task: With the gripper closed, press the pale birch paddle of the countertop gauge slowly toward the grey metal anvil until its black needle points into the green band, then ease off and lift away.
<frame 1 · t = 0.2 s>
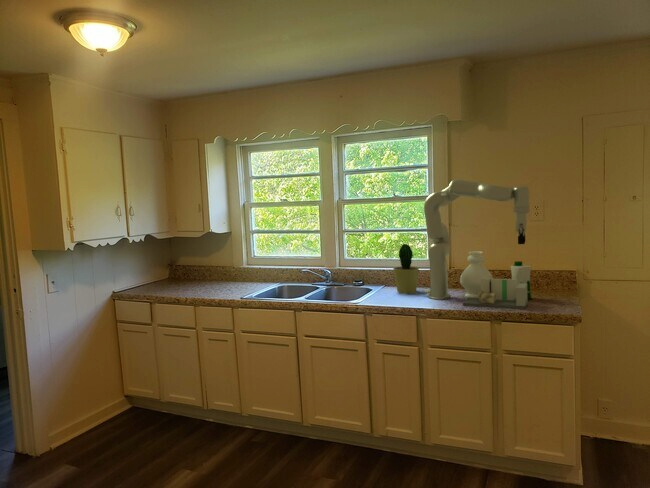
hand: (521, 243, 256), 31 cm above the worktop, tool pointing down, fingers open, 9 cm apart
gauge frame: (495, 304, 255), on the worktop
gauge slider: (487, 292, 256), point 6 cm above the worktop, slide at 0.0 cm
decorative vase: (476, 296, 278), on the worktop
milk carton: (521, 299, 265), on the worktop
potted cactus: (406, 292, 300), on the worktop
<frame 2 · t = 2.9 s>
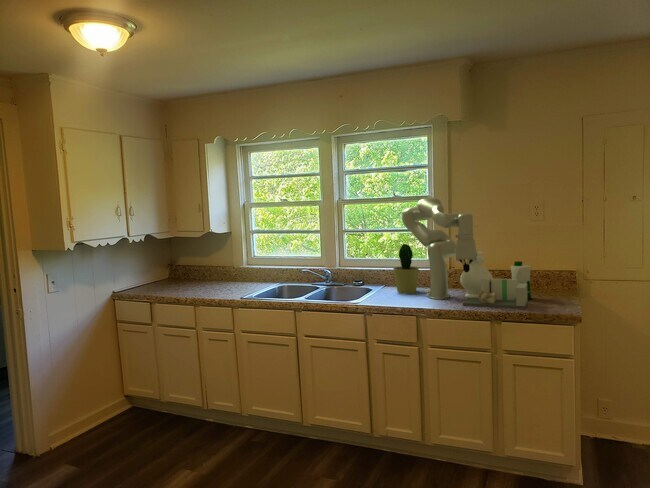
hand: (466, 271, 258), 17 cm above the worktop, tool pointing down, fingers closed
nothing on the worktop moved.
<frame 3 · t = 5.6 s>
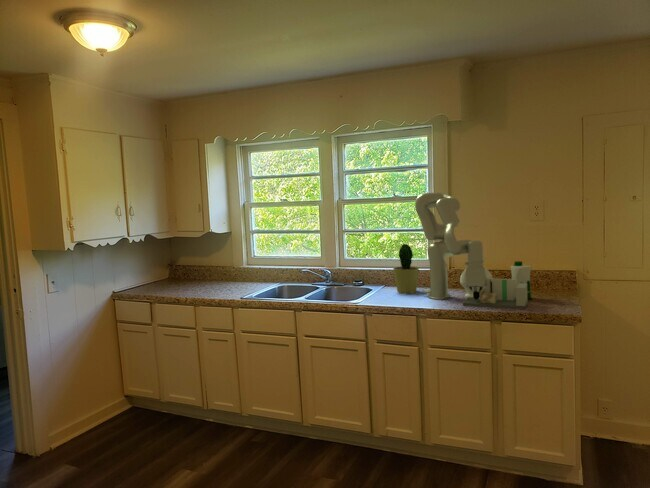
hand: (476, 299, 257), 3 cm above the worktop, tool pointing down, fingers closed
gauge slider: (488, 292, 256), point 6 cm above the worktop, slide at 0.6 cm, touching gripper
everything else where it was.
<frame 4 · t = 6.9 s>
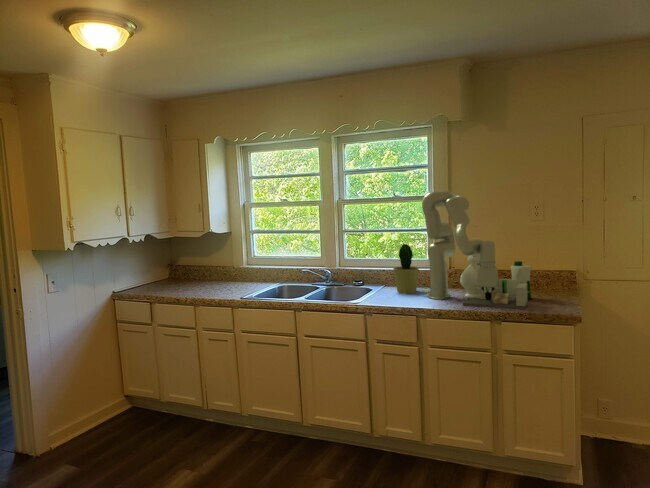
hand: (488, 299, 255), 3 cm above the worktop, tool pointing down, fingers closed
gauge slider: (501, 292, 253), point 6 cm above the worktop, slide at 6.6 cm, touching gripper
everything else where it was.
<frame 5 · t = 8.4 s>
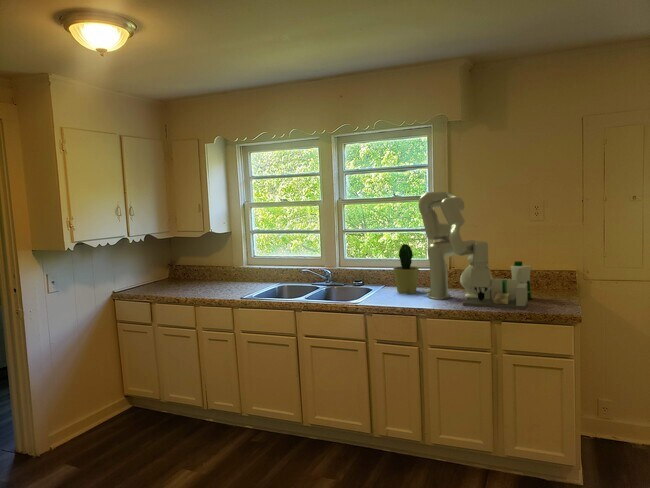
hand: (481, 299, 256), 2 cm above the worktop, tool pointing down, fingers closed
gauge slider: (501, 292, 253), point 6 cm above the worktop, slide at 6.8 cm
everything else where it was.
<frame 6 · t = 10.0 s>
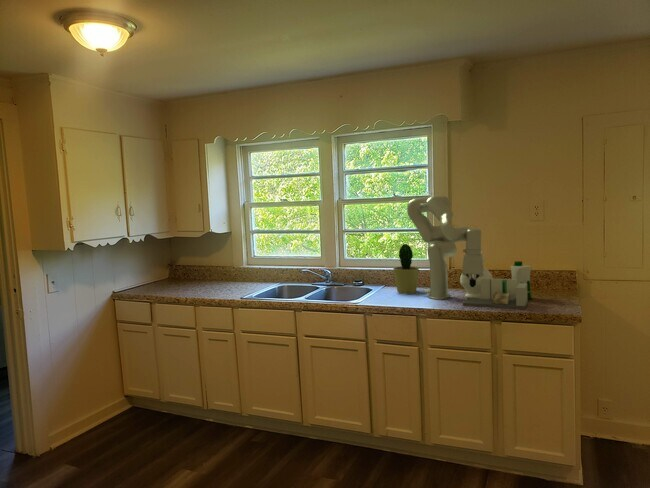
hand: (472, 286, 258), 9 cm above the worktop, tool pointing down, fingers closed
nothing on the worktop moved.
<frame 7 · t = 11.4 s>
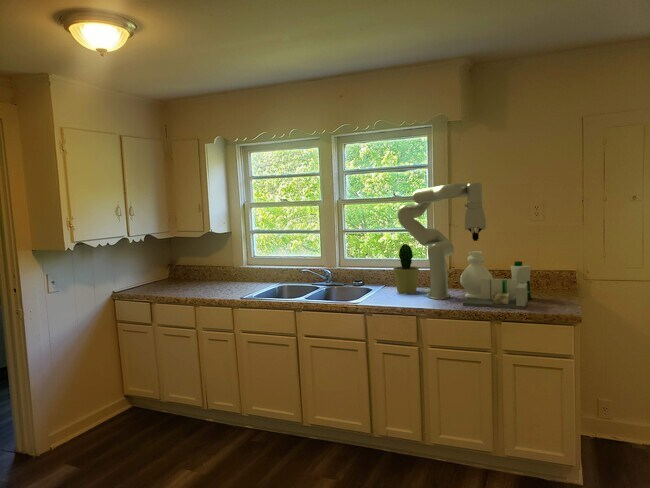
hand: (475, 240, 261), 33 cm above the worktop, tool pointing down, fingers closed
nothing on the worktop moved.
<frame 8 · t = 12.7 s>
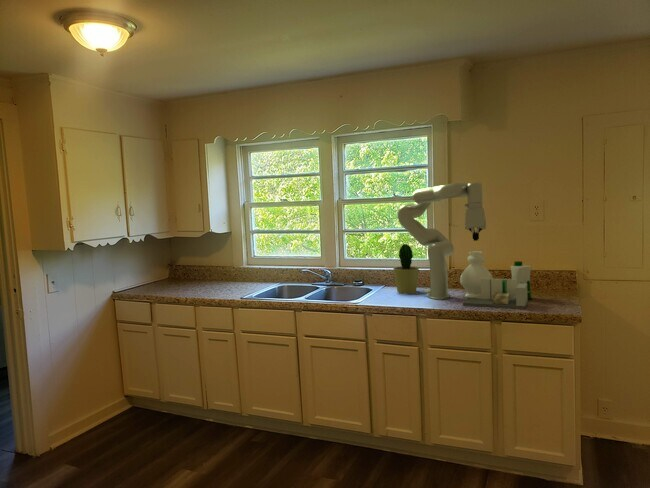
hand: (475, 240, 261), 33 cm above the worktop, tool pointing down, fingers closed
nothing on the worktop moved.
at the end: gauge slider slide at 6.8 cm; the gripper is holding nothing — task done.
